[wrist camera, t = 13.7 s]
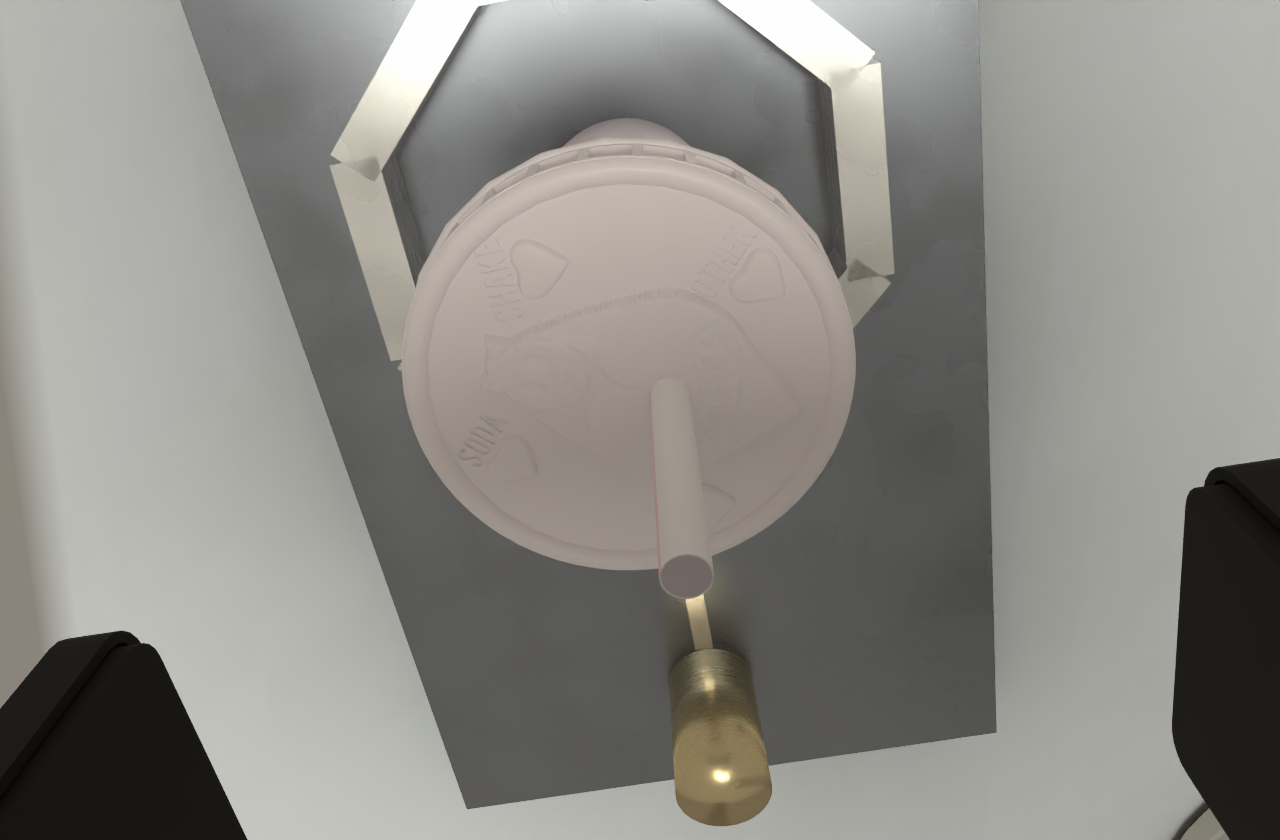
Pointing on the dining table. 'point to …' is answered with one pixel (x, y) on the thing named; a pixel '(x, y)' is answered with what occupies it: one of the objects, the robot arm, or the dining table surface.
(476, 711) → the grey base plate
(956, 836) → the dining table surface
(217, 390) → the dining table surface
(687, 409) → the smoothie
